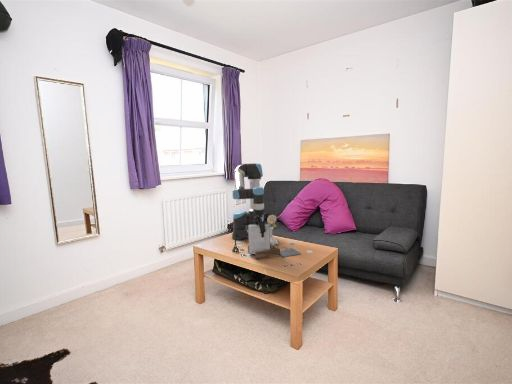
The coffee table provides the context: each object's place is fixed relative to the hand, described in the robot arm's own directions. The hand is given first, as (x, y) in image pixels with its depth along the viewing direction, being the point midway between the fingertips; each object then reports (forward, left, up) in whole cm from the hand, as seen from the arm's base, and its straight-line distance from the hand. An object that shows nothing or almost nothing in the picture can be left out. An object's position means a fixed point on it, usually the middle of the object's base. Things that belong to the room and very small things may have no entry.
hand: (259, 239), depth 196 cm
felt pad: (+6, +20, -11) cm, 24 cm away
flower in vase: (-17, +17, -12) cm, 27 cm away
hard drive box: (0, 0, -10) cm, 10 cm away
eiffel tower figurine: (-14, -14, -12) cm, 23 cm away
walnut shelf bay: (0, +3, -11) cm, 12 cm away
